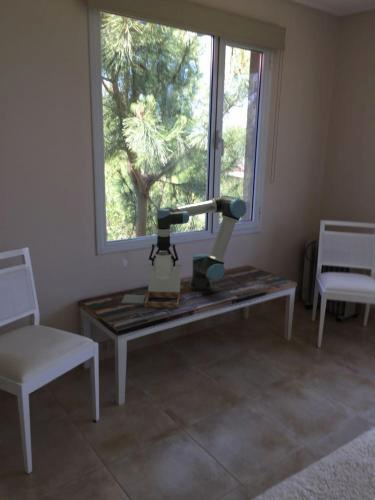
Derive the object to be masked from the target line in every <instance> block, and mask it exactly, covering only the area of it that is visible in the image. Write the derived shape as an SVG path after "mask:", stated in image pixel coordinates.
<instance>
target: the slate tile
mask: <svg viewBox="0 0 375 500" xmlns="http://www.w3.org/2000/svg"><path fill="white" fill-rule="evenodd" d="M146 297H147V294H145V295H144V294H124V296H123V298H122V300H121V303H120V304H121V305H141V306H143V305H144V304H145V300H146Z"/></svg>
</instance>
